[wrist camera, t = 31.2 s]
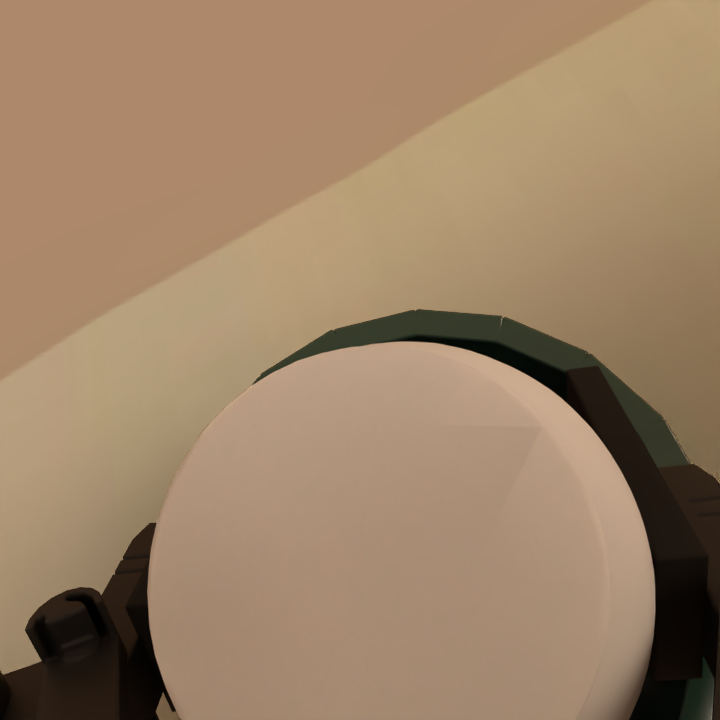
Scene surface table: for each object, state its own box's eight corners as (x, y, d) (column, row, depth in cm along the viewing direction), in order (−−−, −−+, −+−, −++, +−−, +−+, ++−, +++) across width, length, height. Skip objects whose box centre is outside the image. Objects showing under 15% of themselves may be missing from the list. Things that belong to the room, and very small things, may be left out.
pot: (450, 311, 25) (438, 217, 19) (755, 600, 20) (881, 607, 14) (180, 552, 24) (68, 540, 18) (434, 918, 19) (408, 1088, 13)
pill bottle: (418, 405, 23) (327, 152, 10) (622, 555, 20) (894, 495, 7) (269, 594, 22) (-72, 606, 8) (466, 780, 19) (426, 1234, 6)
